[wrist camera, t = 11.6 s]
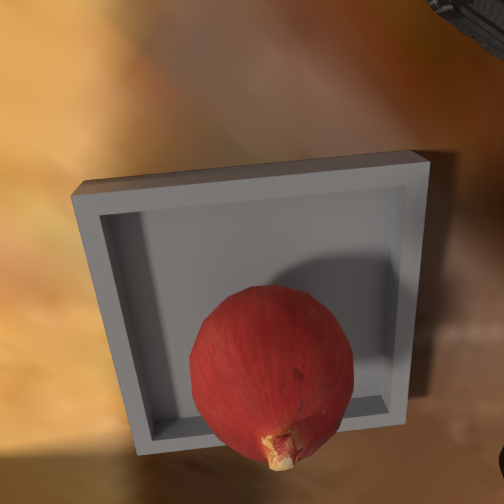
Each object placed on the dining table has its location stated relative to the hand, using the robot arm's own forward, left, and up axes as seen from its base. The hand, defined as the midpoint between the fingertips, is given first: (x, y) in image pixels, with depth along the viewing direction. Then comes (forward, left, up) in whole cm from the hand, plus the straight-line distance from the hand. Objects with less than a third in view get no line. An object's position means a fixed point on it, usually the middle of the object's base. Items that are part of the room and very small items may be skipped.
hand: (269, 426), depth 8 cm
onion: (+5, +1, -11) cm, 12 cm away
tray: (+5, +1, -12) cm, 12 cm away
